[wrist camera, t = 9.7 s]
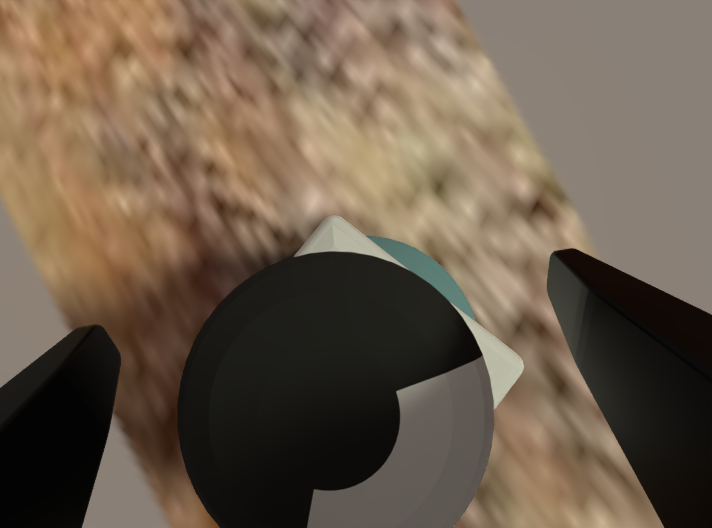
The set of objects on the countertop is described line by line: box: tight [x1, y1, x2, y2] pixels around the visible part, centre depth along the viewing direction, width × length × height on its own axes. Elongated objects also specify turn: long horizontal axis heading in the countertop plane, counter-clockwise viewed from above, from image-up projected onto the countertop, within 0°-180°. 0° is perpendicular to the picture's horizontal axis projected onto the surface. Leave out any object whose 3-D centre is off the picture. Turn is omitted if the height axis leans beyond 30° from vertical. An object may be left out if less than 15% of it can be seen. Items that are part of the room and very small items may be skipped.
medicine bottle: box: [178, 215, 524, 528], centre depth 14 cm, size 7×7×12 cm
